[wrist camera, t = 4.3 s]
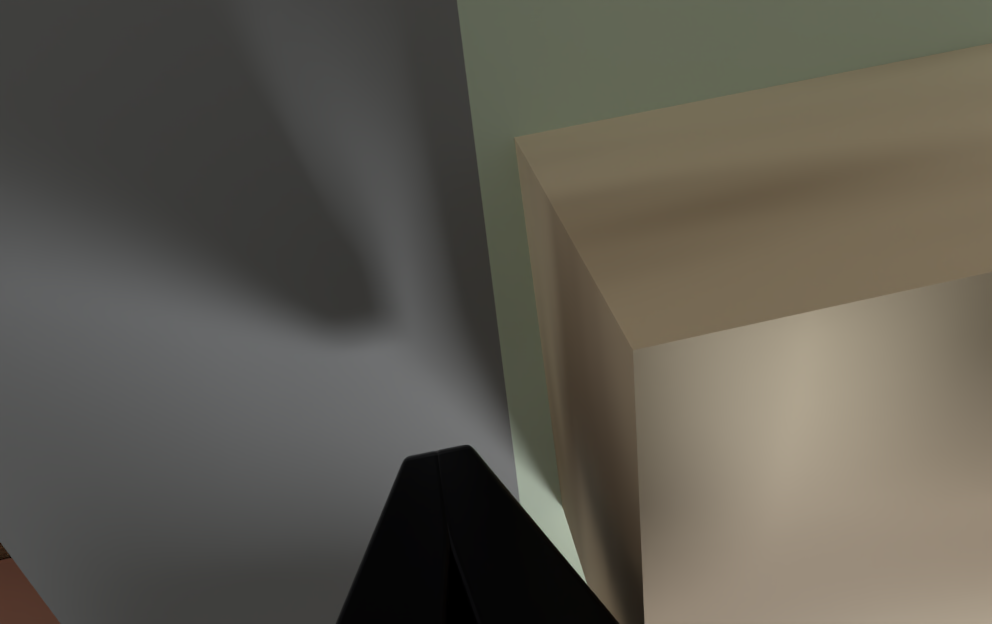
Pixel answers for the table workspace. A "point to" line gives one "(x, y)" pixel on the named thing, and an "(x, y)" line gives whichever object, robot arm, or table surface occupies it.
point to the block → (775, 347)
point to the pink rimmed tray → (308, 266)
